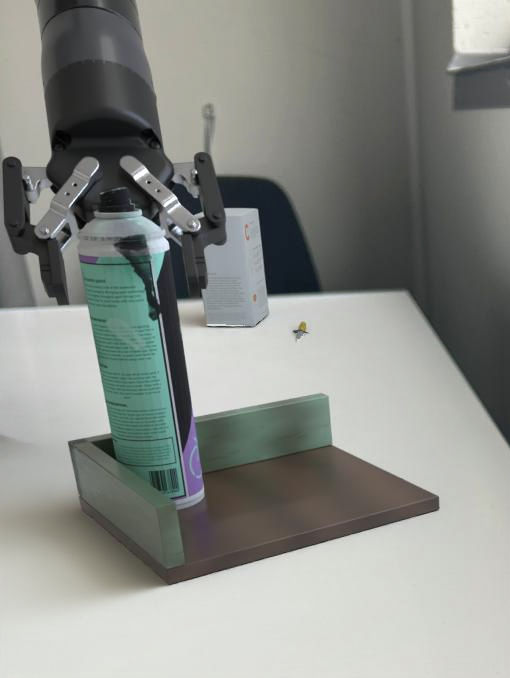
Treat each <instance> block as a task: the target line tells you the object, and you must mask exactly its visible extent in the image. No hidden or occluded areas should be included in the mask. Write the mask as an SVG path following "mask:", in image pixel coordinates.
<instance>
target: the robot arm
mask: <svg viewBox="0 0 510 678" xmlns="http://www.w3.org/2000/svg"><path fill="white" fill-rule="evenodd" d="M33 1H34V4H35V6H36V7H35V8H36V14H37V18H38V19H37V20H38V26H39V34H40V42H41V44H40V45H41V52H40V53H41V55H40V70H41V71H40V72H41V82H42V90H43V98H44V106H45V113H46V120H47V130H48V137H49V144H50V152H51V154H50V155H51V156H50V158H49V160H48V162H47V164H46V166H23V164H22V161H21V159H19V158H18V157H16V156H7V157H5V158H3V160H2V162H1V165H2V166H1V170H2V200H3V225H4V228H5V231H6V234H7V237H8V240H9V242H10V245H11V248H12V250H13V252H14V253H15V254H16V255H20V256H25V255H28V254H29V253H31V254H34V255H36V256H37V258H38V265H39V273H40V279H41V283H42V286H43V289H44V293H45V294H46V295H47V298H49V299H53V298H54V299H55V301H56V303H57V305H58V307H59V306H60V307H61V306H70V298H69V297H70V296H69V290H68V283H67V273H66V266H65V259H64V256H63V254H64V253H65V252H66V251H67V249H68V248H69V247H70V245H71V244H72V243H78V242H79V241H80V240H79V239H78V238H77V235H76V233H77V232H78V231H80V230H82V229H83V228H84V227H85V226H86V225H87V224H88V223H89V222H91V221H92V220H93V219H95V218H96V217H95V216H94V212H95V211H97V210H98V205H100V204H101V201H100V193H101V192H102V191H103V190H105V189H108V188H118V187H127V188H128V191H129V194H130V200H131V203H133V204H135V209H140V210H142V215H141V216H143V217H145V218H147V219H148V220H150V221H152V222H153V223H154V224H156V225H157V226H158V227H162V228H165V233H166V234H165V235H164V237H165V239H169V238H170V239H172V240H173V241H174V242H175V243H177V245H179V246H180V247H181V252H182V259H183V267H184V271H185V277H186V283H187V291H188V297H189V299H198V298H201V294H200V293H201V292H200V290H201V289H206V288H207V285H208V275H207V266H206V260H205V255H204V249H205V248H206V247H207V246H208V245H211V244H214V245H217V246H221V245H224V244H225V243H226V242H227V233H226V224H225V223H226V214H225V210H224V208H225V207H224V206H225V205H224V202H223V199H222V195H221V191H220V185H219V182H218V178H217V174H216V171H215V166H214V163H213V162H214V161H213V159H212V156H211V155H210V154H209V153H208V152H205V151H198V152H196V153H195V154H194V156H193V161H187V162H185V161H184V162H174V163H173V162H172V161H171V159H170V158H169V157H168V156H167V154H166V153H165V148H164V142H163V141H164V140H163V136H162V135H163V134H162V129H161V124H160V115H159V113H158V112H159V111H158V105H157V102H158V100H157V99H158V98H157V94H156V92H155V86H154V81H153V80H154V79H153V75H152V70H151V65H150V63H149V60H148V57H147V54H146V51H145V47H144V41H143V40H144V39H143V33H142V28H141V22H140V17H139V9H138V3H137V0H33ZM176 184H180V185H182V186H184V187H185V188H186V190H187V193H189V194H190V195H191V196H192V197H193V198H194V199H198V198H199V201H200V206H201V210H202V212H203V214H204V217H202V218H199V219H197V218H196V217H195V216H193V215H194V214H193V213H191V212H190V211H189V210H188V209H187V208H185V207H184V206H183V205H182V204H181V202H180V200H179V198H178V197H177V195H176V194H175V193H173V191H174V190H175V188H176V186H177V185H176ZM48 188H49V189H50V191H51V192H52V193H53V194H54V196H53V197H52V199H51V200H50V203H49V205H50V206H49V208H48V211H46V213H45V214H44V215H43V216H42V218H41V219H40V220H39V221H38V223H37V224H32V223H31V205H35V204H37V200H38V199H39V198H40V195H41V192H42V191H43V190H45V189H48Z"/></svg>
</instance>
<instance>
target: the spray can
mask: <svg viewBox="0 0 510 678" xmlns="http://www.w3.org/2000/svg"><path fill="white" fill-rule="evenodd" d="M100 201H101V204H100V205H98V210H97V211H95V212H94V216H95V217H96V218H95V219H93V220H92V221H91V222H89V223H88V224H87V225H86V226H85V227H84V228H83V229H82V230H80V231H78V232H77V233H76V235H77V238H78V239H79V240H78V244H77V245H76V250H77V254H78V260H79V265H80V271H81V277H82V282H83V288H84V294H85V297H86V303H87V308H88V315H89V319H90V325H91V329H92V336H93V337H92V338H93V341H94V347H95V352H96V358H97V362H98V369H99V374H100V375H99V376H100V379H101V386H102V391H103V395H104V401H105V406H106V407H105V408H106V412H107V417H108V423H109V428H110V433H111V434H112V440H113V445H114V450H115V456H116V461H117V462H119V463H120V464H122V465H123V466H124V467H126V468H127V469H129V470H130V471H132V472H133V473H134V474H136V475H137V476H139V477H140V478H141V479H143V480H144V481H146V482H147V483H148V484H150V485H151V486H153V487H154V488H155V489H157V490H158V491H160V492H161V493H163V494H164V495H165V496H167V497H168V498H170V499H171V500H172V501H174V502H175V503H176V509H177V510H180V509H184V508H187V507H190V506H193V505H195V504H197V503H198V502H200V501H201V500H202V499H203V498H204V485H203V478H202V471H201V464H200V458H199V451H198V444H197V437H196V430H195V423H194V417H195V416H194V410H193V402H192V395H191V388H190V383H189V375H188V368H187V361H186V353H185V346H184V340H183V332H182V325H181V319H180V312H179V305H178V304H179V303H178V299H177V298H178V297H177V292H176V291H177V290H176V283H175V278H174V269H173V263H172V256H171V249H170V243H169V241H168V240H167V238H166V237H165V236H164V235H165V234H166V233H165V228H162V227H158V226H157V225H156V224H154V223H153V222H152V221H150V220H148V219H147V218H145V217H143V216H141V215H142V210H140V209H135V204H133V203H131V200H130V194H129V191H128V188H127V187H118V188H108V189H105V190H103V191H102V192H101V193H100Z"/></svg>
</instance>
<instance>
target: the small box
mask: <svg viewBox="0 0 510 678" xmlns="http://www.w3.org/2000/svg"><path fill="white" fill-rule="evenodd" d="M224 210H225V214H226V223H225V224H226V233H227V242H226V243H225V244H224V245H221V246H217V245H214V244H211V245H208V246H207V247H206V248H205V249H204V255H205V260H206V266H207V275H208V285H207V288H206V289H200V290H201V299H202V306H203V311H204V313H203V314H204V320H205V325H206V324H226V325H243V326H244V325H245V326H254V327H256V326H257V325H258V324H259V323H260V322H261V321H262V320H263V318H264V317H265V316H266V315H267V314H268V313H269V314H270V309H269V300H268V289H267V284H266V283H267V282H266V273H265V264H264V263H265V262H264V254H263V252H264V251H263V245H262V244H263V243H262V235H261V225H260V216H259V209H258V208H253V207H224ZM192 215H193V216H195V217H196V218H197V219H199V218H202V217H204V214H203V211H201V212H199V213H196V214H192ZM269 314H268V315H269ZM268 315H267V316H268ZM267 316H266V317H267ZM266 317H265V318H266ZM265 318H264V319H265ZM259 321H260V322H259ZM258 322H259V323H258ZM257 323H258V324H257ZM256 324H257V325H256Z"/></svg>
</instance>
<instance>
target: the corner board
mask: <svg viewBox="0 0 510 678" xmlns="http://www.w3.org/2000/svg"><path fill="white" fill-rule="evenodd" d="M330 408H331V407H330V396H329V395H327V394H326V393H322V392H319V393H314V394H309V395H303V396H298V397H291V398H287V399H282V400H277V401H271V402H267V403H261V404H256V405H250V406H245V407H239V408H235V409H229V410H225V411H220V412H213V413H209V414H203V415H198V416H194V423H195V430H196V437H197V444H198V451H199V458H200V464H201V471H202V478H203V485H204V498H203V499H202V500H201V501H200V502H198V503H197V504H195V505H193V506H190V507H187V508H184V509H180V510H177V509H176V503H175V502H174V501H172V500H171V499H170V498H168V497H167V496H165V495H164V494H163V493H161V492H160V491H158V490H157V489H155V488H154V487H153V486H151V485H150V484H148V483H147V482H146V481H144V480H143V479H141V478H140V477H139V476H137V475H136V474H134V473H133V472H132V471H130V470H129V469H127V468H126V467H124V466H123V465H122V464H120V463H119V462H117V461H116V456H115V450H114V445H113V440H112V434H111V432H108V433H104V434H98V435H93V436H88V437H82V438H76V439H73V440H72V439H71V440H68V441H67V446H68V449H69V456H70V460H71V464H72V470H73V474H74V480H75V484H76V489H77V494H78V497H79V504H80V508H81V510H82V511H84V512H85V514H87V515H88V516H89V517H90V518H92V519H93V520H94V521H95V522H96V523H97V524H98V525H100V526H101V527H102V528H103V529H105V530H106V532H108V533H109V534H110V535H111V536H112V537H113V538H115V539H116V540H117V541H119V543H120V544H122V545H123V546H124V547H125V548H127V550H129V551H130V552H131V553H132V554H133V555H134V556H136V557H137V558H138V559H139V560H141V561H142V562H143V563H144V564H145V565H146V566H147V567H149V568H150V569H151V570H152V571H154V572H155V574H157V575H158V576H159V577H160V578H161V579H162V580H164V581H165V582H166V583H167V584H168V585H173V584H176V583H179V582H183V581H184V582H185V581H187V580H190V579H195V578H198V577H201V576H205V575H209V574H212V573H216V572H219V571H222V570H226V569H231V568H233V567H237V566H241V565H245V564H247V563H251V562H256V561H257V560H259V561H260V560H263V559H265V558H269V557H273V556H276V555H281V554H284V553H287V552H291V551H294V550H299V549H302V548H306V547H308V546H309V547H310V546H313V545H316V544H319V543H323V542H327V541H331V540H334V539H337V538H341V537H344V536H348V535H352V534H355V533H360V532H362V531H367V530H370V529H374V528H377V527H380V526H384V525H388V524H392V523H395V522H399V521H402V520H406V519H409V518H413V517H417V516H419V515H423V514H427V513H430V512H434V511H438V510H440V496H439V495H437V494H435V493H433V492H431V491H429V490H428V489H425V488H423V487H421V486H418V485H416V484H415V483H412V482H410V481H408V480H406V479H404V478H403V477H400V476H398V475H395V474H394V473H391V472H389V471H387V470H385V469H384V468H381V467H379V466H377V465H374V464H373V463H371V462H368V461H367V460H364V459H362V458H360V457H358V456H356V455H354V454H352V453H350V452H348V451H346V450H344V449H341V448H339V447H338V446H335V445H333V432H332V419H331V409H330Z"/></svg>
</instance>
